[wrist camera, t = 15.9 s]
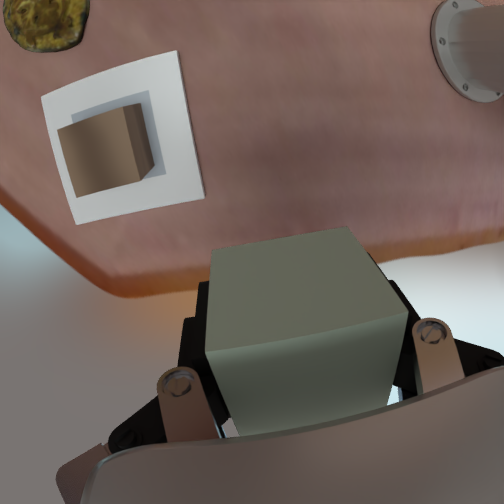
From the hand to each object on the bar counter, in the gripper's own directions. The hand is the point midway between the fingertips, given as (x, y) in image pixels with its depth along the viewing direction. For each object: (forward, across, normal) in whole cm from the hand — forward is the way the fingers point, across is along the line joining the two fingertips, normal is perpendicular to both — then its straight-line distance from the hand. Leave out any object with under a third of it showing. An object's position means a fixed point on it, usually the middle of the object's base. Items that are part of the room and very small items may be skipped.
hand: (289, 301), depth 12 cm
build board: (+20, +12, -6) cm, 24 cm away
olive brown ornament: (+20, +17, -23) cm, 35 cm away
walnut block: (+19, +12, -6) cm, 23 cm away
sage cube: (+1, 0, 0) cm, 1 cm away
